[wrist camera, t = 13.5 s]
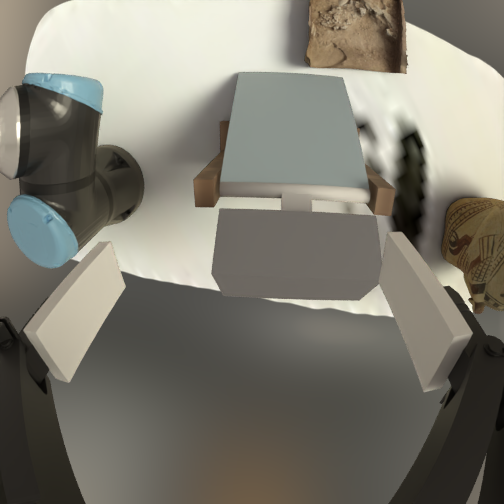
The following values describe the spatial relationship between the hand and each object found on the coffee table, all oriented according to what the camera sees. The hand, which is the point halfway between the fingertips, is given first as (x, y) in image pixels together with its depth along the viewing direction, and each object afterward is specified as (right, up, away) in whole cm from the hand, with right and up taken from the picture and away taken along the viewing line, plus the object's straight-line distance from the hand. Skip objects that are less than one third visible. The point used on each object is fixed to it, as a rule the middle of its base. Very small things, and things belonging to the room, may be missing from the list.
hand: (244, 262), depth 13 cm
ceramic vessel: (+46, +5, +35) cm, 58 cm away
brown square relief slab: (+16, +28, +22) cm, 39 cm away
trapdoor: (+5, +11, +22) cm, 25 cm away
